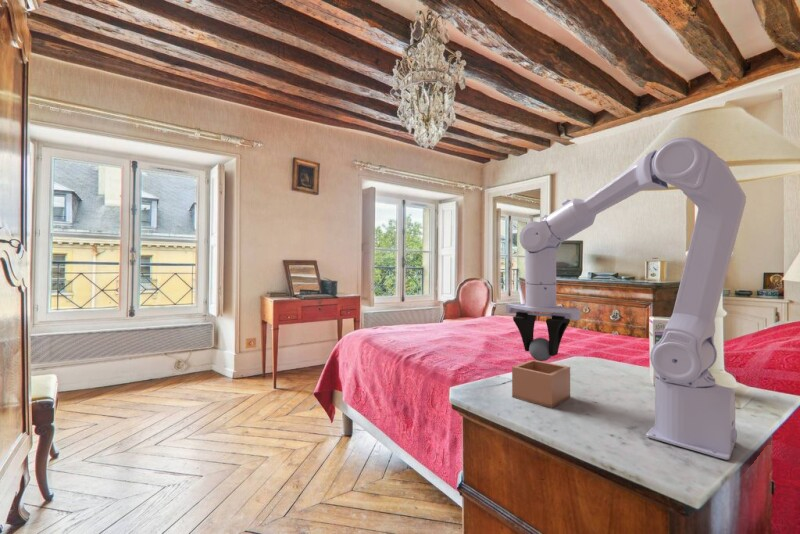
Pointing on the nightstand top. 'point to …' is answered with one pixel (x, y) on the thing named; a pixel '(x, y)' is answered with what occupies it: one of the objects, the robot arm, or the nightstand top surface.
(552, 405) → the open square bin
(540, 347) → the ball
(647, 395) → the nightstand top surface
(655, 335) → the syrup box
